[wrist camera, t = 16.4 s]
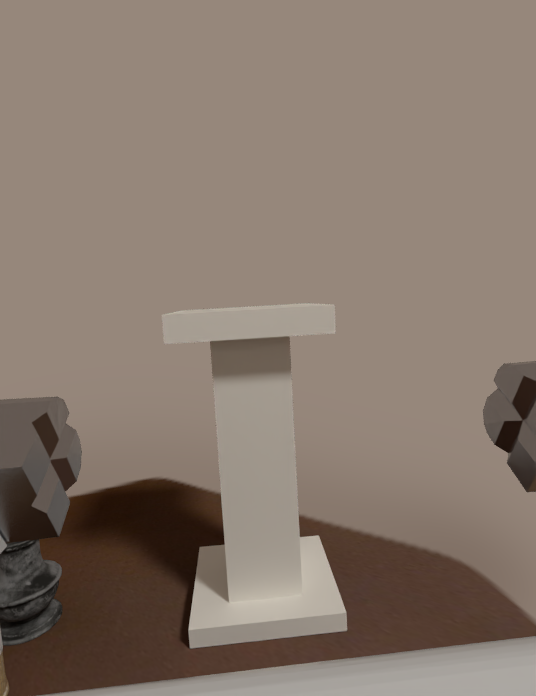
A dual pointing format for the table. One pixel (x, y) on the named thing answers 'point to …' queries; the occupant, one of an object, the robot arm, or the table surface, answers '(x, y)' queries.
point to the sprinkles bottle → (3, 673)
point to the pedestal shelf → (258, 482)
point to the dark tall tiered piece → (27, 592)
